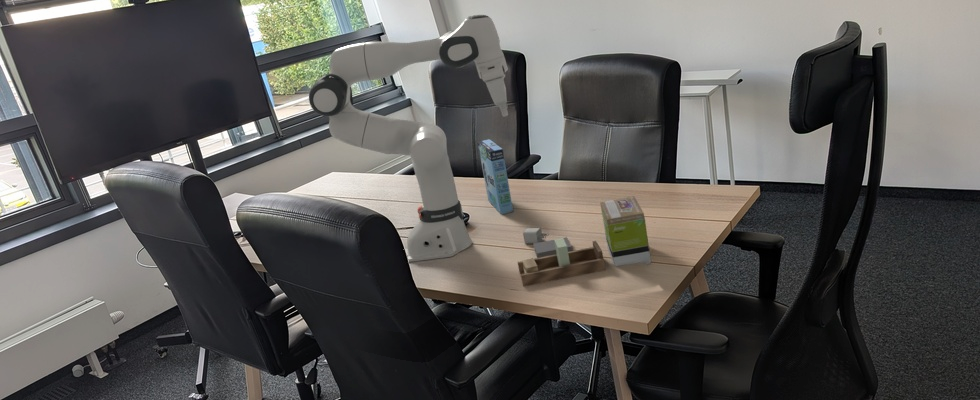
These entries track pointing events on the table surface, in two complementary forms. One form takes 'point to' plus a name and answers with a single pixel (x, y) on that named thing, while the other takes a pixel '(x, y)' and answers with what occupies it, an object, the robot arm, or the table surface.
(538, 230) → the usb wall charger
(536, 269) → the offcut top
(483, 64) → the robot arm
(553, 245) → the riser
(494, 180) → the blue cardboard box
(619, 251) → the tea box
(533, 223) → the table surface
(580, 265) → the rack
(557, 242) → the tall board
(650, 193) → the table surface
